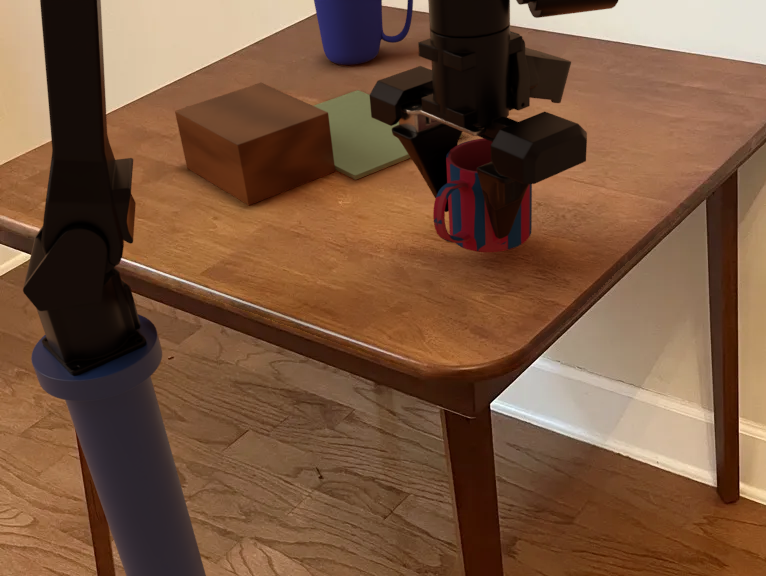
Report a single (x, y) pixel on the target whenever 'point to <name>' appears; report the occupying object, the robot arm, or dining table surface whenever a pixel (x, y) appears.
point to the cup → (475, 203)
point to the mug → (354, 29)
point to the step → (256, 142)
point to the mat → (360, 136)
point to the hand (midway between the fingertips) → (475, 223)
